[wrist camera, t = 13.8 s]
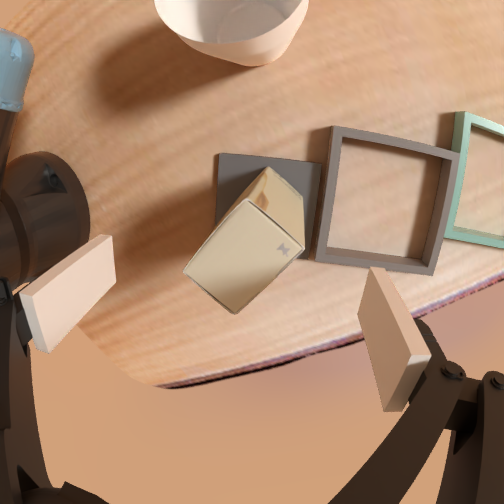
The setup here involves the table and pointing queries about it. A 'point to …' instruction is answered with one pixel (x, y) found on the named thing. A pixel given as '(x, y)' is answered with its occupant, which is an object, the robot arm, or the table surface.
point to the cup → (235, 26)
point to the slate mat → (246, 171)
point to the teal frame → (461, 146)
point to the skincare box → (250, 243)
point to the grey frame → (438, 216)
